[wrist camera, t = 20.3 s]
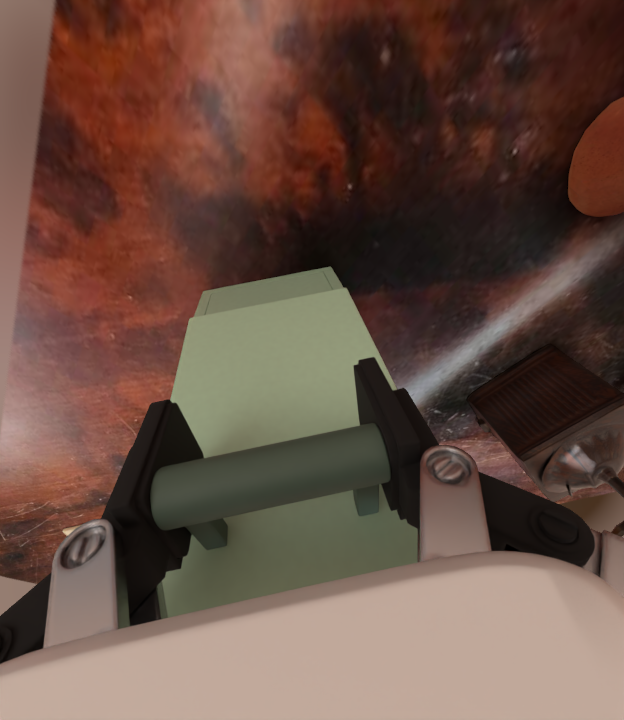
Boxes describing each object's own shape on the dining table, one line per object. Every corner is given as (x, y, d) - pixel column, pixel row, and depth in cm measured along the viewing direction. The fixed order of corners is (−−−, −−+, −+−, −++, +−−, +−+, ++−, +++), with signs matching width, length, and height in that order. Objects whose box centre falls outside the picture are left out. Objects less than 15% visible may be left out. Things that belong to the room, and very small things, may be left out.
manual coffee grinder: (459, 400, 38) (592, 568, 23) (550, 340, 35) (773, 488, 20) (506, 459, 45) (629, 614, 30) (585, 414, 42) (764, 562, 27)
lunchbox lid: (473, 561, 10) (515, 487, 7) (128, 639, 10) (16, 597, 7) (347, 297, 22) (342, 229, 19) (193, 327, 22) (164, 263, 19)
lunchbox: (347, 406, 36) (359, 443, 31) (250, 426, 35) (250, 466, 31) (331, 266, 27) (345, 289, 23) (203, 290, 27) (192, 319, 22)
